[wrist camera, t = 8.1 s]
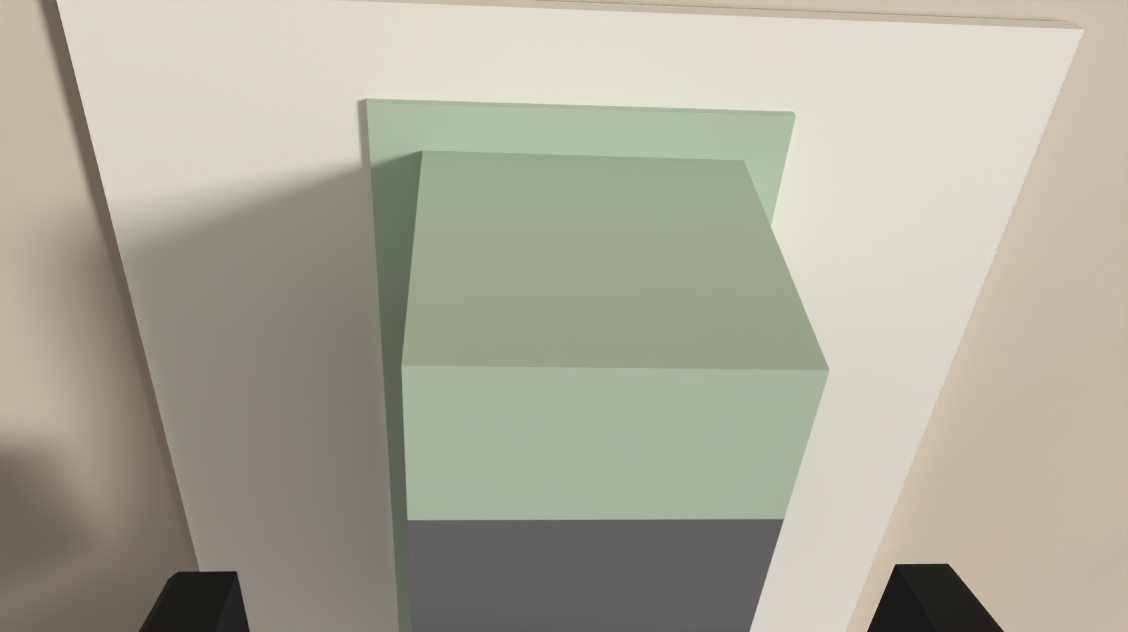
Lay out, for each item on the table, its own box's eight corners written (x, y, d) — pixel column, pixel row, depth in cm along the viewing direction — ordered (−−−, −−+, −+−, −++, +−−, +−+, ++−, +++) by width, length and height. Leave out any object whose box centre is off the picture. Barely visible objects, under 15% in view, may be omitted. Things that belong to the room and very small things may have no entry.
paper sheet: (818, 681, 18) (822, 697, 17) (235, 693, 17) (231, 710, 17) (1074, 21, 10) (1088, 33, 10) (60, -18, 9) (49, -7, 9)
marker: (637, 685, 17) (665, 904, 14) (432, 689, 17) (422, 914, 14) (743, 159, 11) (829, 370, 8) (422, 149, 10) (400, 366, 8)
